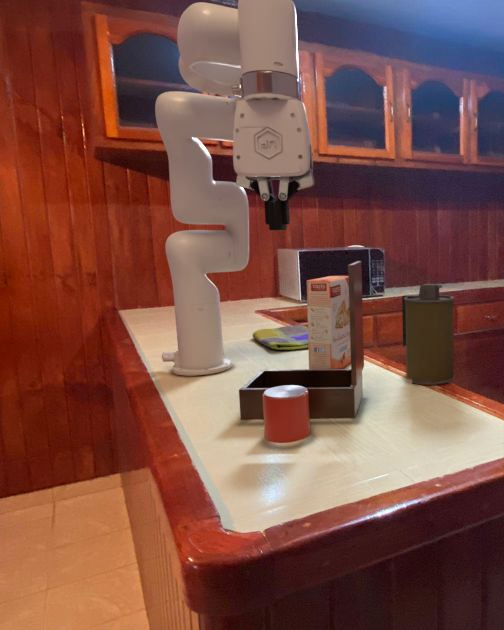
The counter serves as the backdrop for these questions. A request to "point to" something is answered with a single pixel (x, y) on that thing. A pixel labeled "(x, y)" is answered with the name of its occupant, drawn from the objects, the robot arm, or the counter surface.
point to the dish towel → (283, 337)
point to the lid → (356, 320)
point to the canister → (429, 336)
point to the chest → (323, 389)
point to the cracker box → (328, 322)
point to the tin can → (286, 413)
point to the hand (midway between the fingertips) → (278, 229)
